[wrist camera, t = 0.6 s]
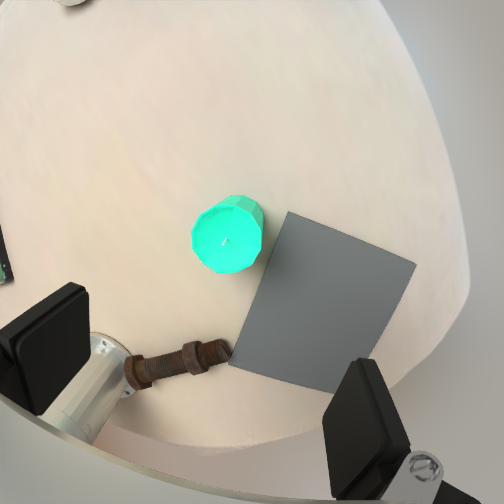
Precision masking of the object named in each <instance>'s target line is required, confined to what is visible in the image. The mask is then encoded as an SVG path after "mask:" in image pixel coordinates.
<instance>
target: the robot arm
mask: <svg viewBox="0 0 504 504" xmlns="http://www.w3.org/2000/svg"><path fill="white" fill-rule="evenodd" d="M129 356H131V355H130V354H129V353H128V351H127V350H126V349H125V348H124V347H123V346H121V345H120V344H119V343H118V342H116V341H115V340H113V339H112V338H110V337H108V336H105V335H103V334H100V333H94V332H93V333H90V323H89V294H88V292H86V289H85V287H84V286H81V285H78V284H76V283H73V282H69V283H68V284H66V285H64V286H63V287H61V288H60V289H58V290H57V291H55V292H54V293H52V294H51V295H49V296H48V297H46V298H45V299H43V300H42V301H40V302H39V303H37V304H36V305H34V306H33V307H31V308H30V309H29V310H27V311H26V312H24V313H23V314H21V315H20V316H19V317H17V318H16V319H14V320H13V321H11V322H10V323H9V324H7V325H6V326H5V327H3V328H2V329H0V504H481V503H480V502H479V501H478V500H476V499H475V498H473V497H471V496H470V495H468V494H466V493H464V492H462V491H460V490H459V489H457V488H455V487H453V486H452V485H450V484H448V483H446V482H444V481H443V480H442V478H443V474H444V471H443V466H442V464H441V462H440V461H439V460H438V459H437V458H436V457H435V456H434V455H432V454H431V453H428V452H426V451H413V452H411V450H410V447H409V446H410V445H411V444H410V442H409V439H408V437H407V434H406V432H405V429H404V427H403V424H402V422H401V419H400V417H399V414H398V412H397V409H396V407H395V405H394V402H393V400H392V398H391V395H390V393H389V391H388V388H387V386H386V384H385V381H384V379H383V377H382V375H381V372H380V370H379V368H378V366H377V364H376V361H375V360H373V359H367V358H360V357H359V358H358V359H357V360H356V361H352V362H351V363H350V365H349V367H348V369H347V371H346V373H345V375H344V377H343V379H342V381H341V383H340V385H339V387H338V389H337V391H336V393H335V395H334V396H333V398H332V400H331V402H330V404H329V406H328V408H327V409H326V411H325V413H324V415H323V420H322V424H323V431H324V438H325V446H326V453H327V461H328V469H329V477H330V486H331V494H332V497H333V498H336V501H335V500H310V499H295V498H283V497H273V496H265V495H257V494H251V493H244V492H238V491H233V490H227V489H223V488H218V487H213V486H209V485H204V484H200V483H196V482H192V481H188V480H185V479H181V478H177V477H174V476H170V475H167V474H164V473H160V472H158V471H154V470H151V469H148V468H146V467H143V466H140V465H137V464H134V463H132V462H129V461H126V460H124V459H121V458H119V457H116V456H114V455H111V454H109V453H107V452H104V451H102V450H100V449H98V448H96V447H93V446H92V444H93V442H94V440H95V438H96V437H97V435H98V433H99V432H100V430H101V428H102V427H103V425H104V424H105V422H106V420H107V419H108V417H109V415H110V414H111V412H112V410H113V409H114V407H115V405H116V404H117V402H118V400H119V399H121V398H127V397H129V396H131V395H132V394H134V393H135V390H134V389H133V388H132V387H131V386H130V385H129V384H128V382H127V380H126V378H125V374H124V369H123V366H124V361H125V359H126V357H129Z"/></svg>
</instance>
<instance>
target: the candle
mask: <svg viewBox="0 0 504 504" xmlns="http://www.w3.org/2000/svg"><path fill="white" fill-rule="evenodd" d="M263 227H264V226H263V212H262V211H261V209H260V207H259V205H258V204H257V202H255V201H254V200H252V199H250V198H248V197H246V196H230V197H228V198H227V199H225V200H223V201H222V202H220V203H218V204H217V205H215V206H213V207H212V208H210V209H208V210H207V211H205V212H204V213H202V214H200V215H199V217H198V219H197V221H196V223H195V225H194V227H193V229H192V231H191V237H192V249H193V251H194V252H195V253H196V255H197V256H198V257H199V259H200V260H201V261H202V263H203V264H205V265H206V266H208V267H209V268H211V269H212V270H214V271H215V272H217V273H235V272H238V271H240V270H243V269H245V268H247V267H249V266H251V265H252V264H253V262H254V260H255V259H256V257H257V255H258V254H259V252H260V250H261V245H262V236H263Z"/></svg>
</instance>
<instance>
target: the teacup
mask: <svg viewBox="0 0 504 504" xmlns="http://www.w3.org/2000/svg"><path fill="white" fill-rule="evenodd" d="M53 1H55V2H57V3H59V4H62V5H66V6H73V5H77V4H80V3H82V2H84V1H85V0H53Z"/></svg>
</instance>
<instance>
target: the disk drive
mask: <svg viewBox="0 0 504 504" xmlns="http://www.w3.org/2000/svg"><path fill="white" fill-rule="evenodd" d="M13 279H14V277H13V273H12V270H11V266H10V262H9V259H8V255H7V252H6V248H5V244H4V239H3V235H2V231H1V226H0V284H2V283H6V282H9V281H11V280H13Z"/></svg>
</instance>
